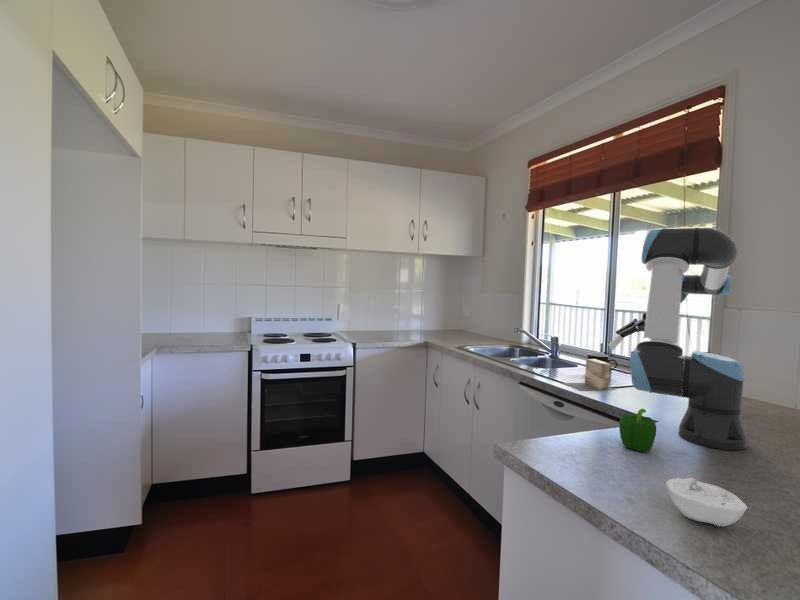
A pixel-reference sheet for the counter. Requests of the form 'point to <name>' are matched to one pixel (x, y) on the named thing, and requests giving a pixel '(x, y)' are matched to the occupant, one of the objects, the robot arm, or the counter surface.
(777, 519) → the counter surface
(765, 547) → the counter surface
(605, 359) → the coffee mug
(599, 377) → the birch block
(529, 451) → the counter surface
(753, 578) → the counter surface
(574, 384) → the mat
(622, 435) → the bell pepper
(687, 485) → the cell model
